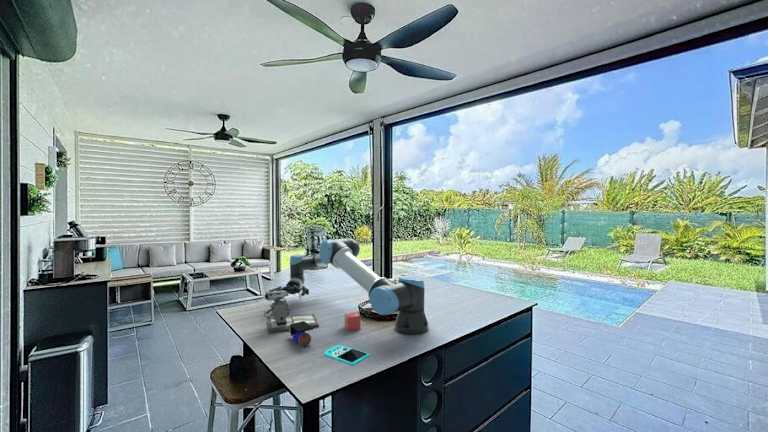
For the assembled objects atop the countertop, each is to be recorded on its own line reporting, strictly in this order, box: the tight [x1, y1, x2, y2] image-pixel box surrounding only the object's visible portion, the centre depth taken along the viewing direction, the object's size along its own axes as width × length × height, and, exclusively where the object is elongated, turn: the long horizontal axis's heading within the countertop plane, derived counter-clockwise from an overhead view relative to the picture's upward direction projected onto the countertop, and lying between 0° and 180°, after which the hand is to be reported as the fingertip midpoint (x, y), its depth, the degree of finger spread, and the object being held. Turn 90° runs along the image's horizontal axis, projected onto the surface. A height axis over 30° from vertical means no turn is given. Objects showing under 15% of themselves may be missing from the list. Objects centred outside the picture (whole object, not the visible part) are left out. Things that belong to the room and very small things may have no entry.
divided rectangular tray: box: [267, 313, 320, 334], centre depth 163 cm, size 16×22×2 cm
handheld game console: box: [323, 343, 371, 366], centre depth 131 cm, size 10×16×1 cm, turn 55°
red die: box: [344, 311, 362, 331], centre depth 158 cm, size 6×6×6 cm
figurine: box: [263, 290, 290, 326], centre depth 160 cm, size 9×12×15 cm
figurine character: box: [288, 321, 314, 347], centre depth 144 cm, size 7×8×15 cm
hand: (285, 296), depth 171 cm, fingers open, 13 cm apart
